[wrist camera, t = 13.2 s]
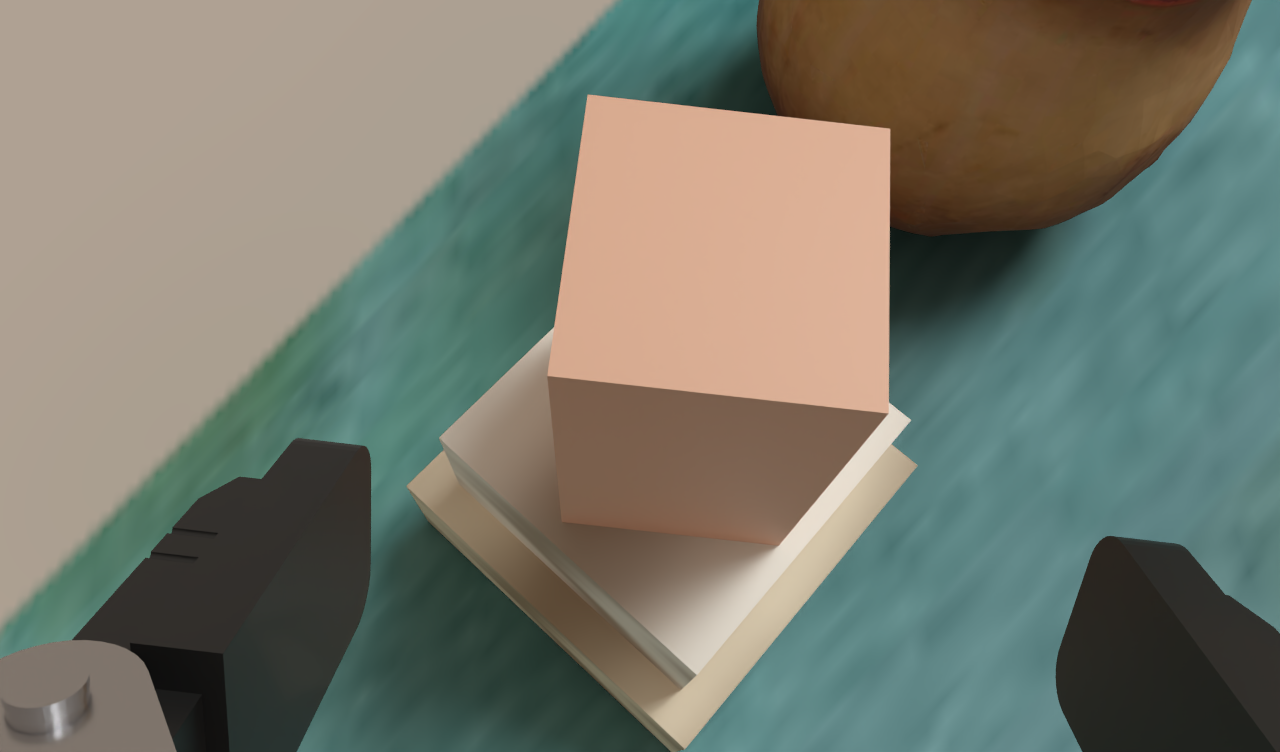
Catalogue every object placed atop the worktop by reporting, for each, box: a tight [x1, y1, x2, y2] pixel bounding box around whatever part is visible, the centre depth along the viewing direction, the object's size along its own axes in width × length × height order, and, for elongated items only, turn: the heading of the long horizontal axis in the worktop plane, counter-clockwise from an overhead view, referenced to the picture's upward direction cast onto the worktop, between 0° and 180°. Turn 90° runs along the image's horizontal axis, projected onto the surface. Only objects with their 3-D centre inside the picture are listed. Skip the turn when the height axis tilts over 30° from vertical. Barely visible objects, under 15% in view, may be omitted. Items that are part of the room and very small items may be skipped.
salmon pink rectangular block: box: [547, 95, 890, 546], centre depth 20 cm, size 5×5×9 cm
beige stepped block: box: [407, 328, 918, 752], centre depth 28 cm, size 10×10×8 cm
